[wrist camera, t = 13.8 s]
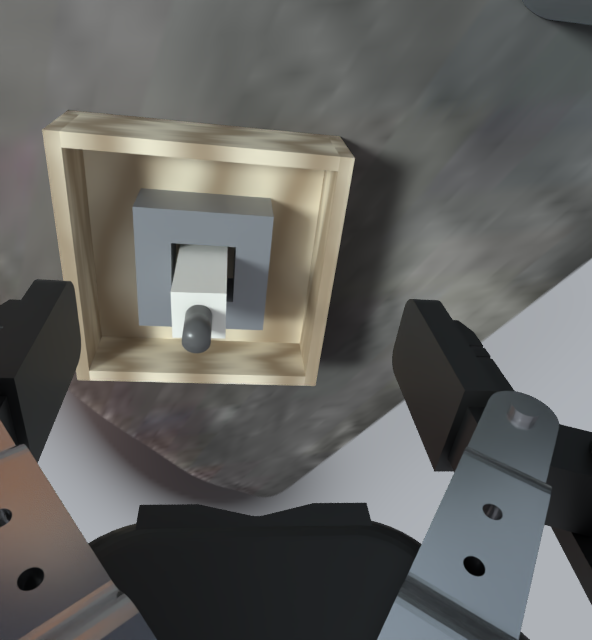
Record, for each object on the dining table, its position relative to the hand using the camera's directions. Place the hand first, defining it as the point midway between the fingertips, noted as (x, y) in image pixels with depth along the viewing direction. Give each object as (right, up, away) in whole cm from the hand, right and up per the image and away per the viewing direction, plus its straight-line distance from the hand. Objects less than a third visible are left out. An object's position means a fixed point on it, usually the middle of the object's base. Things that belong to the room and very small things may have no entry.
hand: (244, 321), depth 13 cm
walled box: (-6, +6, +31) cm, 32 cm away
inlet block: (-6, +6, +30) cm, 32 cm away
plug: (-6, +6, +30) cm, 32 cm away
